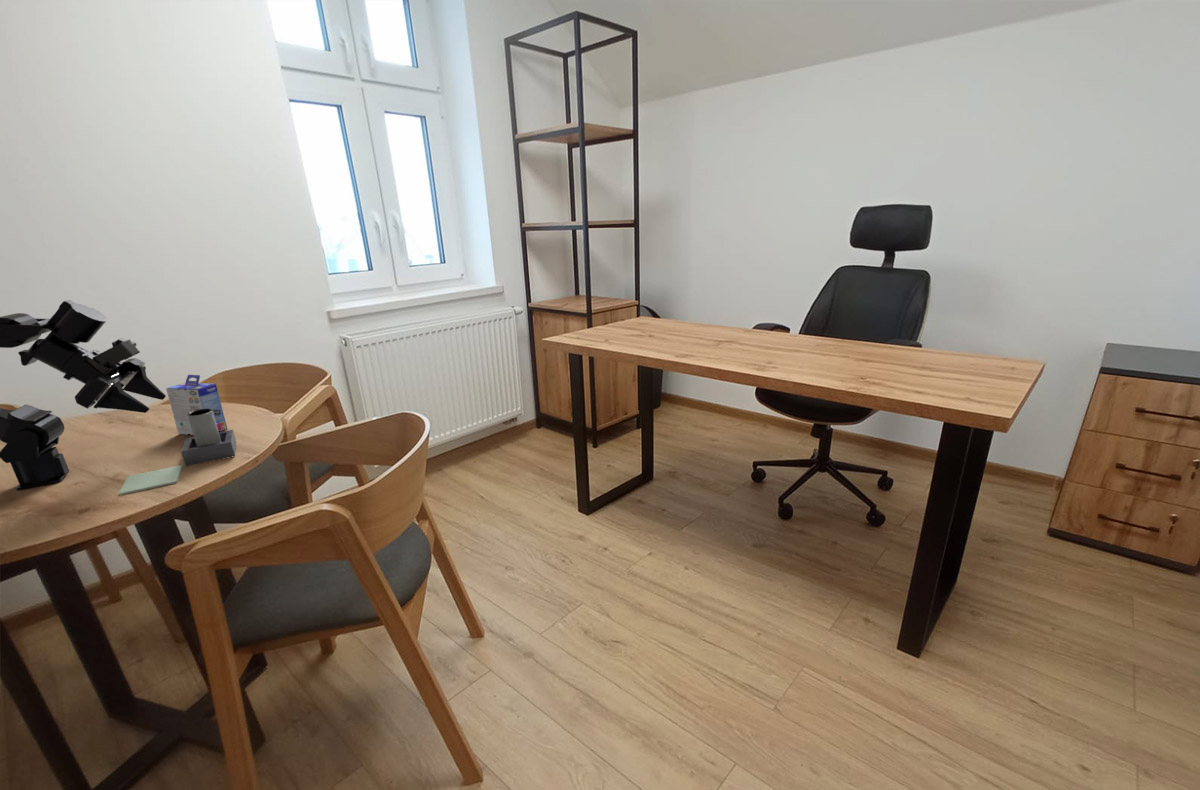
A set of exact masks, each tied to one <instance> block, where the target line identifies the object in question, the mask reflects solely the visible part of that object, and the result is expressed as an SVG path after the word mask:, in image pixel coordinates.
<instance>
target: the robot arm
mask: <svg viewBox="0 0 1200 790" xmlns="http://www.w3.org/2000/svg"><path fill="white" fill-rule="evenodd" d="M58 306H59V307H58V309H57V310H56V311H55V313H54V314H53V315H52V316H51V317H50V318H35V317H33V316H32V315H30V314H29V313H22V312H17V313H11V314H7V315H3V316H0V348H1V349H3V348H4V349H11V348H18V347H20V346H23V345H26V344H30V343H32V342H34V343H33V344H32V345H30V348H29V349H23V350H20V351H18V355H19V357H20V362H21V365H22V366H24V367H25V366H27V365H28V366H29V365H31V364H34V363H36V362H37V361H39V362H41V363H43V364H45V365H47V366H49V367H50V368H53V369H55V370H56V371H58V372H60V373H63V374H64V375H63V377H62V378H63V379H65V380H67V381H71V380H72V379H75V380H76V381H78V382H80V383H82V384H84V385H83V386H82V387H81V388H80V390H79V391H78V392H77V393H76V394H75V396H74V400H75V403H76V404H77V405H79V406H80V407H81V406H82V407H83V408H85V409H90V408H91V407H93V408H94V409H98V408H99V409H109V410H119V411H120V410H121V411H129V412H135V413H143V414H144V413H145V414H146V413H148V412H149V410H150V408H149V407H148V406H147V405H146V404H144V403H143V402H141V401H139V400H138V399H137V398H135V397H133V396H132V395H130V393H133V394H136V395H140V396H145V397H149V398H153V399H157V400H161V401H162V400H164V399H165V398H167V395H166V394H165V393H164V392H163V391H162V390H160V389H159V387H157V386H156V385H155V384H154V382H152V381H151V379H150V378H148V376H147V372H146V369H147V368H146V366H145V364H146V362H144V361H142V360H141V359H139V358H136V357H135V358H132V357H134V356H136V355H137V354H139V353H141V352H140V350H139V349H138V348H137V347H136V346H137V343H136V342H134V341H131V340H130V339H126V338H124V337H120V338H119V339H118V338H117V340H115V341H112V342H111V345H112V347H110V348H109V349H106V350H104V351H103V352H101V351H99V350H94V349H93V350H91V351H88V350H87V349H86V348H83V347H81V346H79V345H78V344H80V343H90V342H91V340H92V339H93V337H94V336H95V335H96V334H97V333H98V331H99V330H100V329H101V328H103V325H104V324H106V322H107V321H108V318H107V316H106V315H105V314H103V313H102V312H100V311H99V310H97V309H96V308H93V307H90V306H86V305H85V304H81V303H76V302H74V301H73V300H71V299H68V300H67V299H66V300H64V301H62V302H61V303H60V305H58ZM47 333H48V334H47ZM42 334H47V336H46V337H44V338H40V337H41V336H42ZM127 392H129V393H127ZM52 412H53V411H52V410H43V409H41V408H38V407H35V406H33V405H30V404H24V405H21V406H20V407H18V408H16V409H4V408H1V407H0V441H1V442H2V443H5V445H4V446H3V448H1V450H0V459H1V461H3V462H4V463H6V464H9V463H10V466H11V468H12V470H13V472H14V475H15V477H16V479H17V482H18V485H17V486H16V487H15V489H16V490H17V491H20V490H25V489H28V488H29V489H30V488H34V487H39V486H44V485H50V484H55V483H59V482H61V481H62V480H64V478H65V477H66V476H67V474H68V473H69V471H70V469H69V466H68V465H67V462H66V459H65V456H64V454H63V453H59V450H58V448H57V445H58V444H59V441H60V436H61V435H63V433H64V432H65V425H64V424H65V423H64V422H63V421H62V419H61V418H60V417H59V416H57V415H55V414H52Z"/></svg>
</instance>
